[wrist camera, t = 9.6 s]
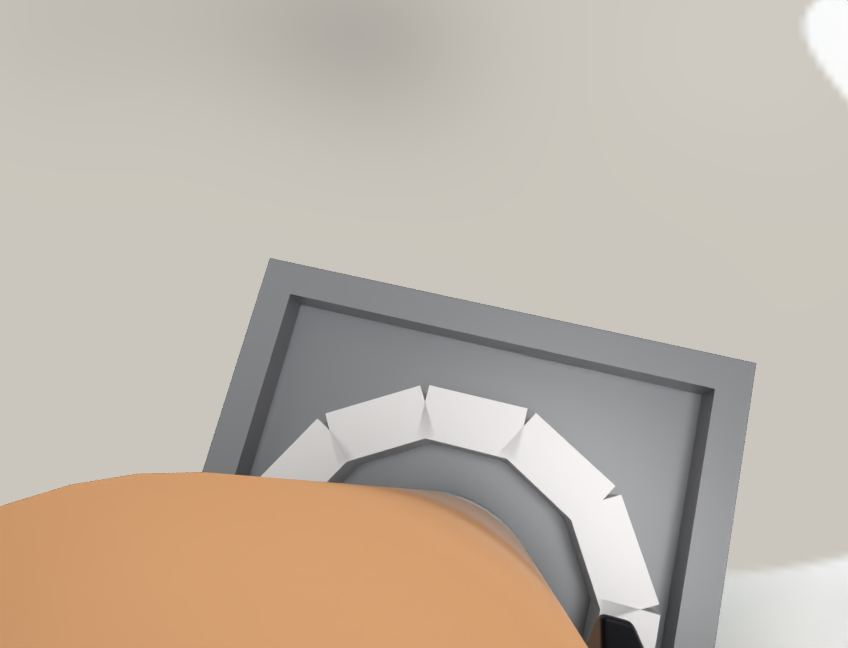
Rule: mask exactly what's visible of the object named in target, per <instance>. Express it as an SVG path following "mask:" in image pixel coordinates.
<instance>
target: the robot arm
mask: <svg viewBox="0 0 848 648" xmlns="http://www.w3.org/2000/svg"><path fill="white" fill-rule="evenodd" d="M587 647H588V648H644V646H643V644H642V642H641V640H640V637H639V635H638V633H637V631H636V629H635V627H634V625H633V624H632V623H631V622H630V621H628V620H625V619H621V618H618V617H614V616H611V615H607V614H601V615H600V616H599V617H598V618H597V620H596V622H595V625H594V627H593V630H592V632H591V635H590V637H589V640H588V642H587Z"/></svg>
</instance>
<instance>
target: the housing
mask: <svg viewBox="0 0 848 648" xmlns="http://www.w3.org/2000/svg"><path fill="white" fill-rule="evenodd" d="M755 369H756V363H754V362H749V361H744V360H740V359H735V358H730V357H725V356H721V355H717V354H712V353H707V352H703V351H698V350H693V349H689V348H684V347H679V346H675V345H670V344H665V343H661V342H656V341H652V340H647V339H642V338H637V337H633V336H629V335H624V334H619V333H615V332H610V331H605V330H601V329H596V328H592V327H587V326H582V325H577V324H573V323H568V322H564V321H559V320H554V319H550V318H545V317H541V316H536V315H531V314H526V313H522V312H517V311H513V310H508V309H504V308H499V307H494V306H490V305H485V304H480V303H476V302H471V301H467V300H462V299H457V298H453V297H448V296H443V295H439V294H434V293H429V292H425V291H420V290H416V289H411V288H406V287H402V286H397V285H392V284H388V283H383V282H378V281H374V280H369V279H365V278H360V277H356V276H350V275H346V274H342V273H337V272H332V271H327V270H323V269H319V268H314V267H309V266H305V265H300V264H295V263H291V262H286V261H281V260H277V259H272V258H270V259H269V262H268V266H267V269H266V272H265V275H264V278H263V282H262V285H261V288H260V291H259V294H258V297H257V301H256V304H255V307H254V310H253V313H252V316H251V319H250V323H249V326H248V329H247V333H246V335H245V339H244V342H243V345H242V348H241V351H240V355H239V358H238V361H237V364H236V367H235V370H234V373H233V377H232V380H231V383H230V386H229V389H228V392H227V396H226V399H225V402H224V405H223V408H222V411H221V415H220V418H219V421H218V424H217V427H216V431H215V434H214V437H213V440H212V443H211V446H210V450H209V453H208V456H207V459H206V462H205V465H204V469H203V472H208V473H220V474H233V475H245V476H257V477H270V478H282V479H294V480H307V481H319V482H331V483H344V484H356V485H368V486H381V487H393V488H405V489H418V490H430V491H440V492H448V493H452V494H456V495H460V496H463V497H465V498H468V499H470V500H473V501H475V502H477V503H479V504H480V505H482V506H484V507H486V508H487V509H489V510H490V511H491V512H493V513H494V514H495V515H497V516H498V517H499V518H500V519H501V520H502V521H503V522H504V523H505V524H506V525H508V526H509V527H510V529H511V530H512V531H513V532H514V534H515V535H516V536H517V537H518V539H519V540H520V542H521V543H522V545H523V546H524V548H525V549H526V551H527V553H528V554H529V556H530V557H531V559H532V560H533V562H534V563H535V565H536V567H537V568H538V570H539V571H540V573H541V574H542V576H543V578H544V579H545V581H546V582H547V584H548V585H549V587H550V589H551V590H552V592H553V593H554V595H555V596H556V598H557V600H558V601H559V603H560V604H561V606H562V607H563V609H564V611H565V612H566V614H567V615H568V617H569V618H570V620H571V621H572V623H573V625H574V626H575V628H576V629H577V631H578V632H579V634H580V636H581V637H582V639H583V640H584V642H585V643H586V645H587V642H588V640H589V637H590V635H591V632H592V630H593V627H594V625H595V622H596V620H597V618H598V617H599V616H600V615H601V614H607V615H611V616H614V617H618V618H621V619H625V620H628V621H630V622H631V623H632V624H633V625H634V627H635V629H636V631H637V633H638V635H639V637H640V640H641V642H642V644H643V646H644V648H714V647H715V640H716V634H717V627H718V620H719V613H720V606H721V600H722V593H723V586H724V579H725V572H726V565H727V559H728V551H729V545H730V538H731V532H732V525H733V518H734V510H735V504H736V497H737V491H738V483H739V477H740V471H741V464H742V457H743V450H744V443H745V436H746V430H747V423H748V416H749V409H750V403H751V396H752V388H753V382H754V375H755Z"/></svg>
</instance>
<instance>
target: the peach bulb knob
mask: <svg viewBox="0 0 848 648" xmlns="http://www.w3.org/2000/svg"><path fill="white" fill-rule="evenodd" d="M0 648H588V647H587V645H586V643H585V642H584V640H583V639H582V637H581V636H580V634H579V632H578V631H577V629H576V628H575V626H574V625H573V623H572V621H571V620H570V618H569V617H568V615H567V614H566V612H565V611H564V609H563V607H562V606H561V604H560V603H559V601H558V600H557V598H556V596H555V595H554V593H553V592H552V590H551V589H550V587H549V585H548V584H547V582H546V581H545V579H544V578H543V576H542V574H541V573H540V571H539V570H538V568H537V567H536V565H535V563H534V562H533V560H532V559H531V557H530V556H529V554H528V553H527V551H526V549H525V548H524V546H523V545H522V543H521V542H520V540H519V539H518V537H517V536H516V535H515V534H514V532H513V531H512V530H511V529H510V527H509V526H508V525H506V524H505V523H504V522H503V521H502V520H501V519H500V518H499V517H498V516H497V515H495V514H494V513H493V512H491V511H490V510H489V509H487V508H486V507H484V506H482V505H480V504H479V503H477V502H475V501H473V500H470V499H468V498H465V497H463V496H460V495H456V494H452V493H448V492H440V491H430V490H418V489H405V488H393V487H381V486H368V485H356V484H344V483H331V482H319V481H307V480H294V479H282V478H270V477H257V476H245V475H233V474H220V473H208V472H196V473H195V472H193V473H152V474H133V475H127V476H121V477H115V478H109V479H103V480H97V481H90V482H84V483H78V484H72V485H69V486H65V487H62V488H58V489H55V490H52V491H49V492H45V493H42V494H39V495H35V496H32V497H29V498H25V499H22V500H19V501H15V502H13V503H9V504H6V505H3V506H1V507H0Z"/></svg>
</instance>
